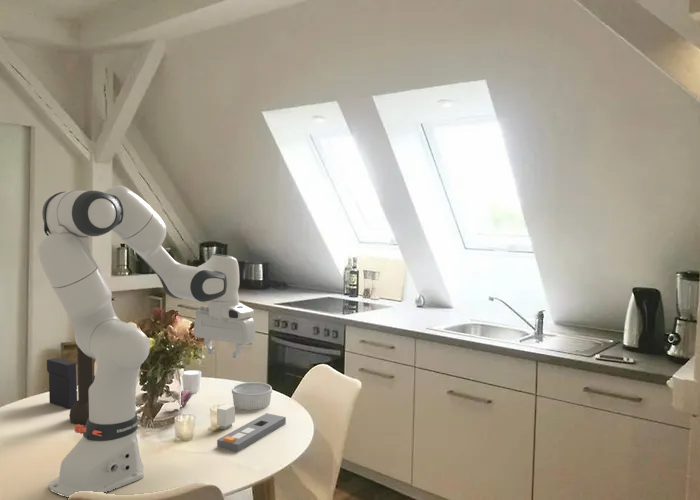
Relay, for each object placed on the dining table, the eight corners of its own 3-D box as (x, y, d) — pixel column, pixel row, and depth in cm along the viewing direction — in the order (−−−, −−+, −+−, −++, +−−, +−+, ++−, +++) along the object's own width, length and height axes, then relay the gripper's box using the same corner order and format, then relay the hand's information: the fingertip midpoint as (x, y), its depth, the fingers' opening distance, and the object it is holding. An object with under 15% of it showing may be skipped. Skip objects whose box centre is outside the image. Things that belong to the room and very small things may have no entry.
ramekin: (278, 410, 205) (279, 390, 204) (241, 418, 198) (242, 396, 197) (261, 399, 216) (261, 379, 215) (225, 406, 208) (225, 385, 208)
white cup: (178, 393, 220) (178, 374, 220) (186, 387, 227) (186, 369, 226) (196, 395, 219) (196, 375, 219) (204, 389, 226) (204, 370, 225)
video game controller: (174, 418, 201) (183, 400, 199) (163, 410, 201) (171, 392, 200) (188, 408, 210) (197, 390, 209) (177, 401, 211) (185, 383, 210)
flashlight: (68, 427, 187) (103, 423, 190) (66, 345, 185) (102, 343, 188) (70, 416, 196) (104, 413, 199) (69, 338, 194) (103, 336, 197)
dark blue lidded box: (79, 406, 205) (78, 362, 204) (67, 410, 202) (66, 364, 200) (59, 400, 211) (58, 356, 210) (47, 403, 207) (46, 359, 206)
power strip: (238, 457, 168) (238, 441, 167) (217, 452, 171) (217, 436, 170) (285, 428, 189) (285, 414, 189) (266, 424, 192) (266, 410, 192)
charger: (225, 433, 183) (225, 410, 182) (216, 431, 184) (216, 408, 184) (234, 428, 187) (234, 405, 186) (226, 426, 188) (226, 403, 188)
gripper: (189, 307, 184) (188, 353, 185) (245, 314, 175) (245, 362, 176) (203, 304, 190) (202, 348, 191) (258, 311, 181) (258, 357, 182)
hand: (223, 355), depth 184 cm, fingers open, 8 cm apart
